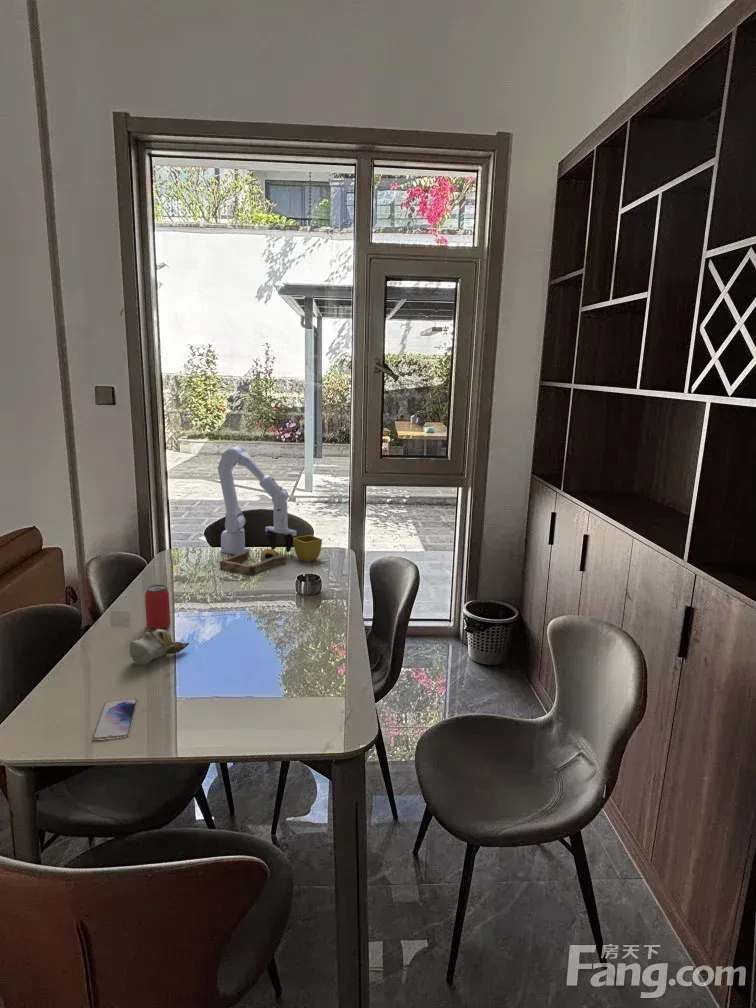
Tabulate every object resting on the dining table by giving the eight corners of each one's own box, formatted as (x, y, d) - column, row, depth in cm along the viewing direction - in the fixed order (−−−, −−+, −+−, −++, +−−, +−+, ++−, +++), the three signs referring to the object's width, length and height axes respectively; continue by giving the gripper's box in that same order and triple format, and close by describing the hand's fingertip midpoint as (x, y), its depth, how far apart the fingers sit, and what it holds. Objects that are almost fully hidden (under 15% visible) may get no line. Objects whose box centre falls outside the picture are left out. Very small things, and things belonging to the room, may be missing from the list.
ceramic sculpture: (116, 631, 154) (162, 615, 167) (117, 663, 156) (162, 644, 169) (146, 640, 149) (191, 623, 163) (146, 673, 151) (190, 654, 164)
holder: (215, 567, 234) (215, 560, 233) (246, 555, 250) (246, 548, 249) (257, 576, 224) (257, 568, 224) (287, 563, 240) (286, 556, 240)
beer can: (162, 631, 175) (160, 592, 173) (142, 629, 177) (139, 590, 174) (174, 622, 182) (172, 584, 179) (154, 620, 183) (152, 582, 180)
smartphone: (138, 698, 139) (128, 735, 125) (138, 702, 139) (128, 739, 125) (104, 700, 137) (91, 738, 123) (104, 704, 137) (91, 743, 123)
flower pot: (310, 555, 252) (310, 534, 250) (322, 560, 245) (322, 539, 243) (292, 559, 246) (292, 537, 244) (304, 564, 240) (304, 542, 238)
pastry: (261, 554, 252) (261, 545, 252) (278, 554, 253) (278, 545, 252) (260, 561, 243) (260, 552, 242) (277, 561, 244) (277, 552, 243)
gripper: (300, 518, 251) (300, 550, 254) (272, 514, 257) (272, 545, 260) (290, 522, 245) (291, 554, 248) (261, 517, 251) (262, 549, 254)
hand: (280, 550), depth 253 cm, fingers open, 7 cm apart
